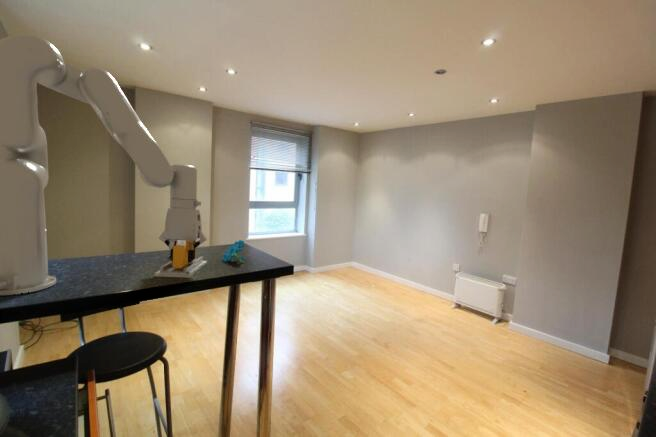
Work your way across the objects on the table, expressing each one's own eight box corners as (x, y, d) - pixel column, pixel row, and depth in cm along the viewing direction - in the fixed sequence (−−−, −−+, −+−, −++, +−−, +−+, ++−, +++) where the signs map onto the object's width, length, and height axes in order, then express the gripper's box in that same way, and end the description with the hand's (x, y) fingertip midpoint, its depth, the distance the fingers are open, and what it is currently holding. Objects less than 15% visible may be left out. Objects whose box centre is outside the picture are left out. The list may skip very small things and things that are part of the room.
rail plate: (189, 277, 90) (189, 269, 90) (154, 276, 90) (154, 267, 89) (206, 263, 106) (207, 256, 106) (177, 262, 105) (177, 255, 105)
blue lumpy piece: (219, 253, 115) (239, 235, 117) (230, 263, 118) (249, 245, 119) (222, 264, 106) (244, 245, 107) (234, 275, 108) (255, 255, 110)
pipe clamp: (182, 258, 103) (183, 239, 102) (195, 258, 103) (196, 240, 103) (166, 267, 91) (167, 246, 90) (181, 268, 91) (182, 246, 91)
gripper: (214, 205, 100) (213, 259, 102) (161, 202, 99) (161, 257, 100) (207, 206, 92) (206, 265, 94) (149, 203, 91) (149, 262, 93)
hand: (182, 260), depth 97 cm, fingers closed on pipe clamp, 4 cm apart
